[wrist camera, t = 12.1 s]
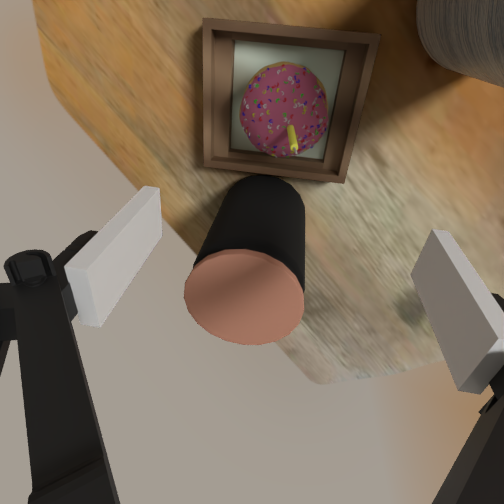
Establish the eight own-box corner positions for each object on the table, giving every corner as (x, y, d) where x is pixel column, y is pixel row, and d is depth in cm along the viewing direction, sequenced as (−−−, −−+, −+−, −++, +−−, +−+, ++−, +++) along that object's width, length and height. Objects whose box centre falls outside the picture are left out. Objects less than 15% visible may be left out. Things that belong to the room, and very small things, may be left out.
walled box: (210, 18, 33) (202, 17, 30) (375, 33, 32) (381, 34, 29) (209, 157, 41) (203, 166, 38) (341, 173, 40) (344, 183, 37)
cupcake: (343, 102, 35) (357, 133, 25) (286, 159, 39) (279, 204, 29) (285, 37, 33) (275, 43, 23) (230, 105, 37) (202, 135, 27)
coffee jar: (214, 228, 46) (172, 323, 32) (238, 157, 40) (199, 235, 26) (286, 254, 47) (276, 359, 33) (319, 189, 41) (327, 282, 27)
